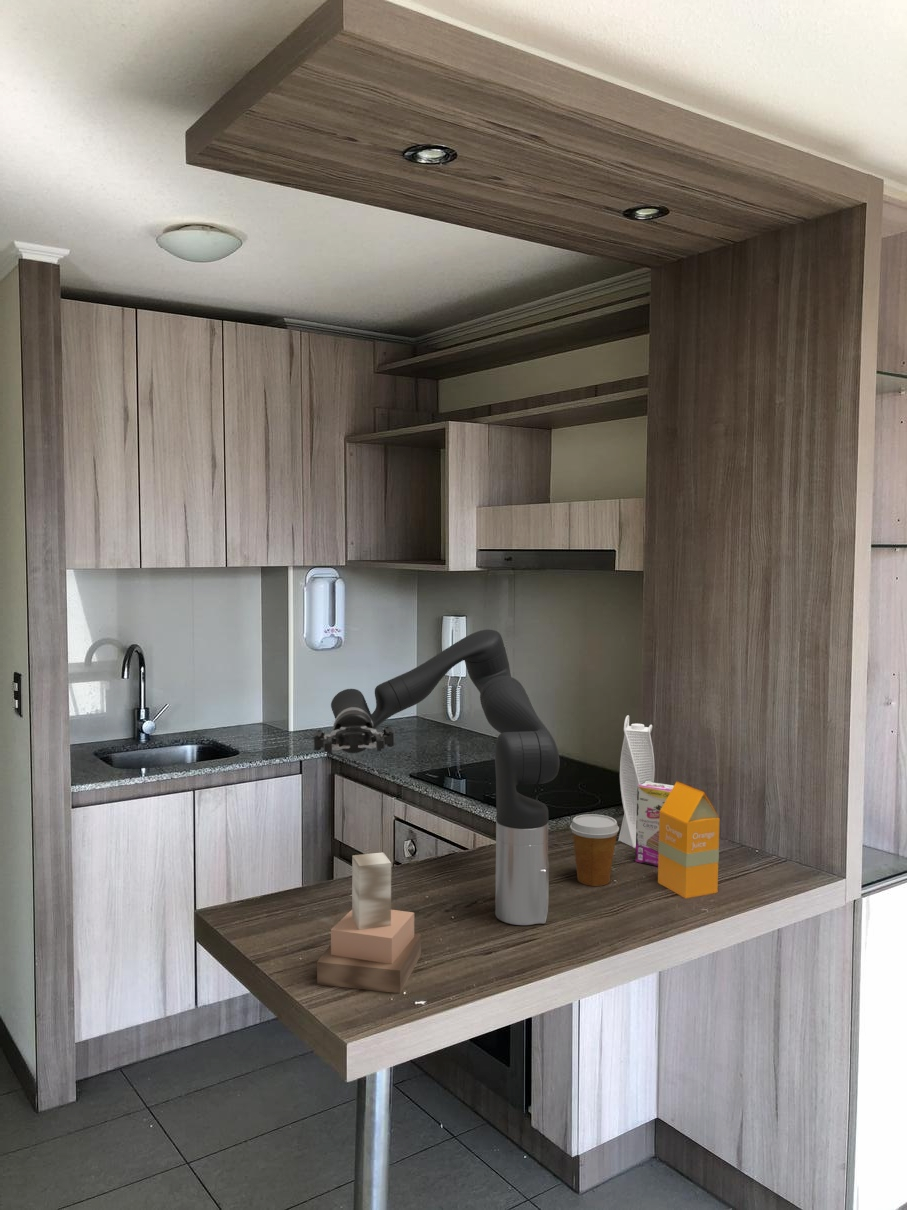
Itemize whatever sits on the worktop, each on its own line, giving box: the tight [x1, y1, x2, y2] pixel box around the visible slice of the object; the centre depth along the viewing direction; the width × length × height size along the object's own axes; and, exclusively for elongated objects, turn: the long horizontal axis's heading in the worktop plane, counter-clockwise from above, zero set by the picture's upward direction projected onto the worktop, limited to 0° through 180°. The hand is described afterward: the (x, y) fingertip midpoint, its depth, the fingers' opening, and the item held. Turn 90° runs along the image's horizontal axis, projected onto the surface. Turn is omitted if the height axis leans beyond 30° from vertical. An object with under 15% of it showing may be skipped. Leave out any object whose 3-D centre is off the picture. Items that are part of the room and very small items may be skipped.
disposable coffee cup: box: [569, 813, 620, 887], centre depth 186 cm, size 10×10×12 cm
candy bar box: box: [634, 781, 674, 867], centre depth 195 cm, size 11×5×16 cm, turn 58°
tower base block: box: [316, 932, 422, 994], centre depth 148 cm, size 13×13×4 cm
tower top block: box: [330, 909, 415, 964], centre depth 149 cm, size 10×10×4 cm
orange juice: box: [657, 780, 721, 899], centre depth 183 cm, size 8×9×20 cm
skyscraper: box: [617, 714, 656, 849], centre depth 209 cm, size 8×8×28 cm
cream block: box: [351, 852, 392, 930], centre depth 148 cm, size 5×5×10 cm
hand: (354, 746), depth 164 cm, fingers open, 8 cm apart
